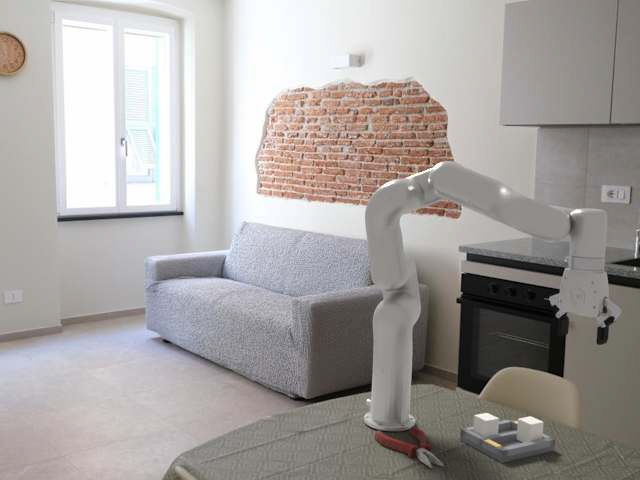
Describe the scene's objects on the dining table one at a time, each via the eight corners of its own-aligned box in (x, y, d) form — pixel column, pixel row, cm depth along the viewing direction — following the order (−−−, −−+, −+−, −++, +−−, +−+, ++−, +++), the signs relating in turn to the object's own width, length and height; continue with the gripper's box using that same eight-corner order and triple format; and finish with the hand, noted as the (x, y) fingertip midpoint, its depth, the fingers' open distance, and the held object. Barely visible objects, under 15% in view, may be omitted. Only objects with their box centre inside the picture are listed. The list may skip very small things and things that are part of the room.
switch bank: (460, 439, 174) (460, 428, 174) (510, 429, 182) (511, 418, 182) (502, 462, 162) (502, 450, 162) (554, 450, 170) (555, 438, 170)
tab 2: (516, 439, 172) (518, 418, 172) (529, 436, 174) (530, 416, 173) (529, 445, 169) (530, 424, 168) (542, 442, 171) (543, 421, 170)
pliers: (413, 475, 155) (414, 463, 155) (372, 439, 174) (372, 429, 174) (460, 469, 160) (461, 457, 159) (415, 434, 178) (415, 424, 178)
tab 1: (472, 435, 173) (474, 415, 173) (485, 433, 175) (487, 412, 175) (484, 442, 170) (485, 421, 169) (497, 439, 172) (499, 418, 171)
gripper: (543, 260, 170) (539, 333, 172) (613, 270, 156) (608, 350, 158) (562, 258, 174) (557, 329, 176) (632, 267, 161) (626, 345, 163)
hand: (581, 339), depth 167 cm, fingers open, 9 cm apart
